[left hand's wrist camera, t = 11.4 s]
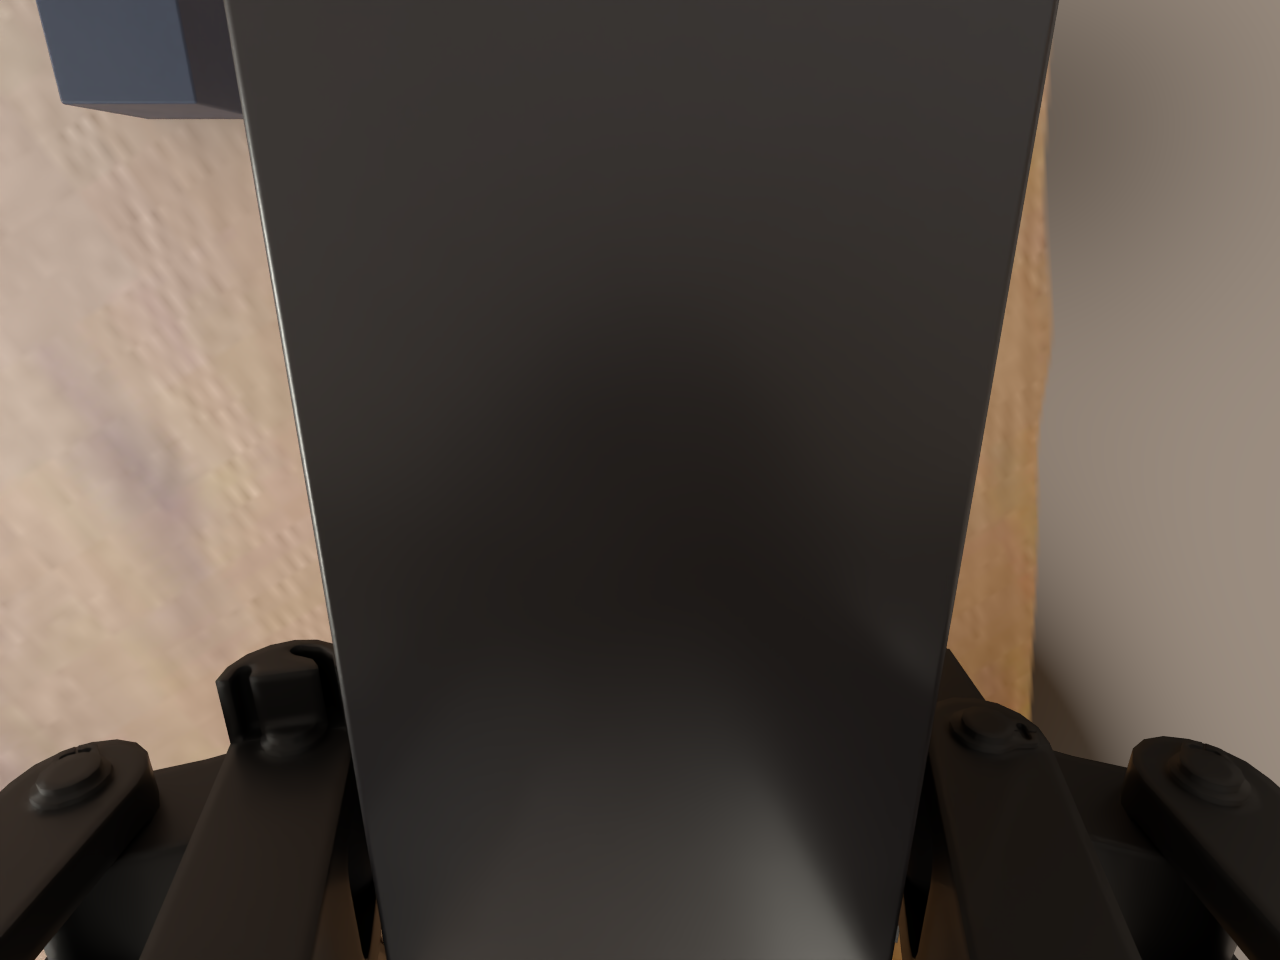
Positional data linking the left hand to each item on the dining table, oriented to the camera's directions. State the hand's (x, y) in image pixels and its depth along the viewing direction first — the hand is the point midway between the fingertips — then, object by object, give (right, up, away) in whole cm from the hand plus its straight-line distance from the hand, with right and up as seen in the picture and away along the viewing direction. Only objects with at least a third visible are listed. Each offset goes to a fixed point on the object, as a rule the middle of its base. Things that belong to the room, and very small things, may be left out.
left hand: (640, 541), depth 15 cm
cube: (-15, +16, +10) cm, 24 cm away
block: (0, +9, -3) cm, 10 cm away
